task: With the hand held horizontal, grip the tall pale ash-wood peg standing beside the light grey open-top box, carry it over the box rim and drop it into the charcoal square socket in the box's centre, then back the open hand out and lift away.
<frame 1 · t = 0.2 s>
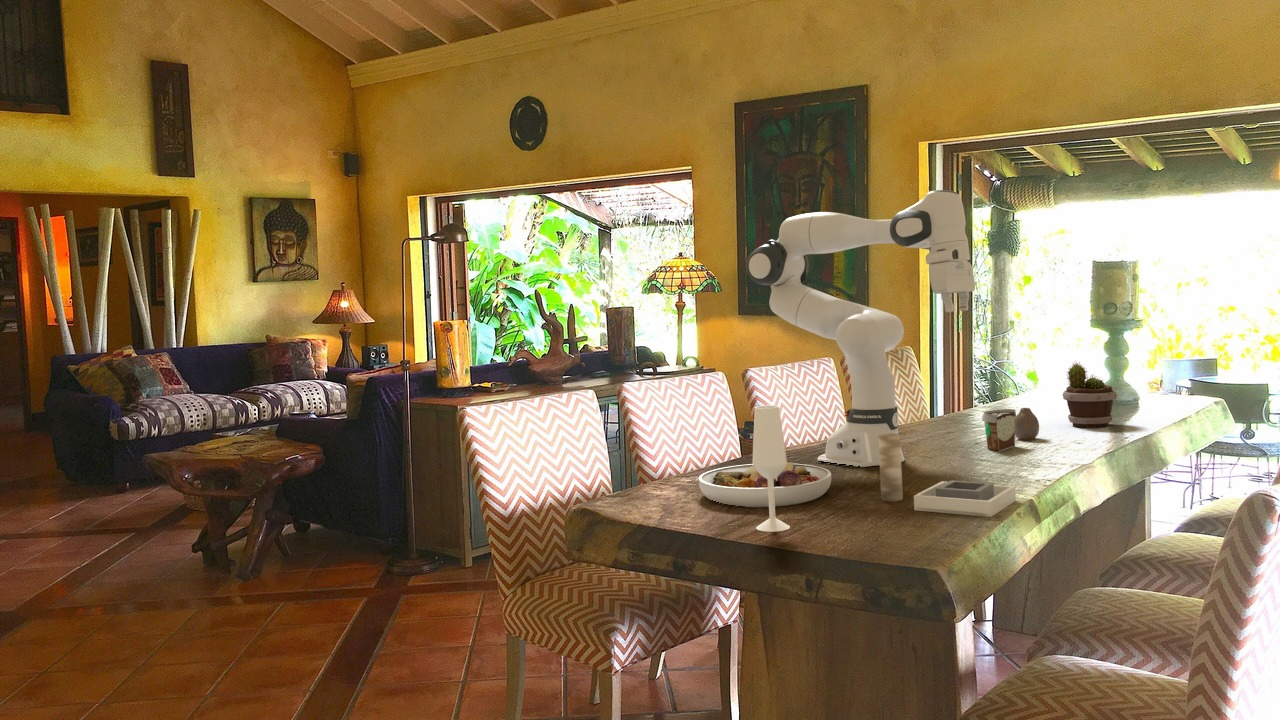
hand: (957, 311, 244), 38 cm above the table, tool pointing down, fingers open, 8 cm apart
champagne flute: (773, 528, 196), on the table
food container: (996, 449, 269), on the table
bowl: (765, 497, 227), on the table
vase: (1026, 439, 281), on the table
flowerpot: (1090, 426, 298), on the table
peg: (891, 499, 215), on the table
tray: (965, 505, 205), on the table
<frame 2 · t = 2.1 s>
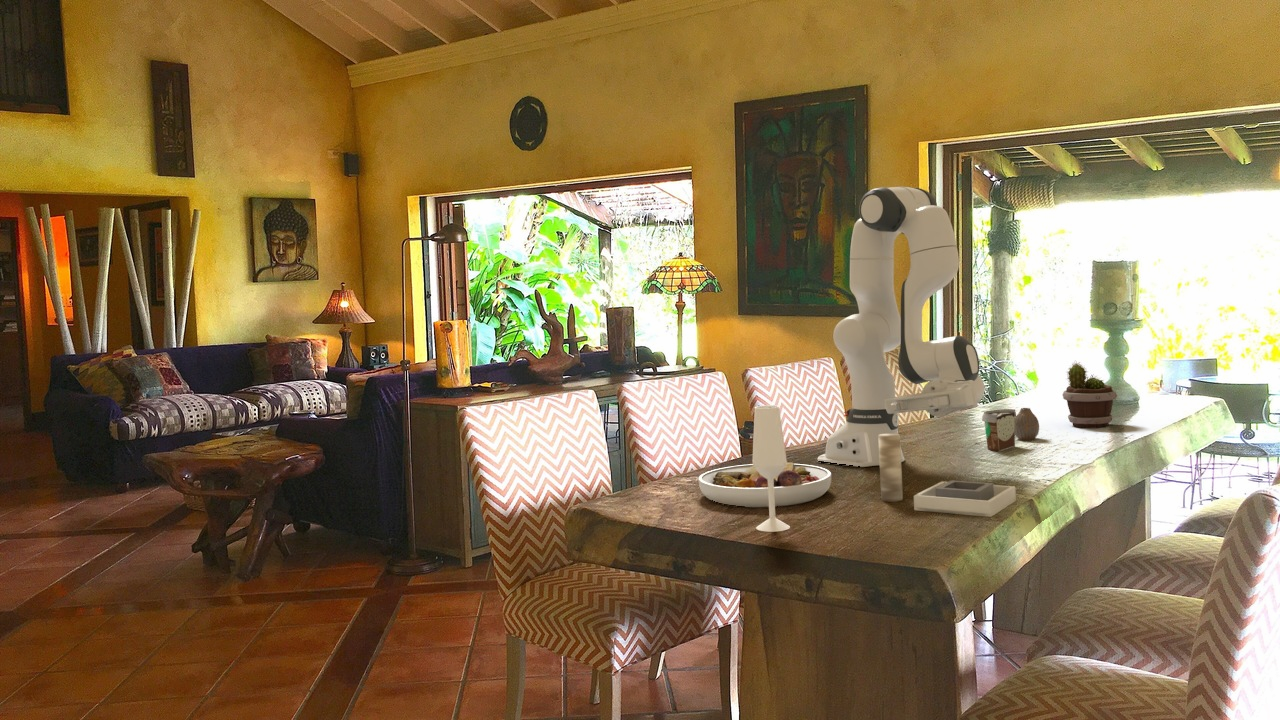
hand: (912, 405, 223), 19 cm above the table, tool horizontal, fingers open, 8 cm apart
nothing on the table moved.
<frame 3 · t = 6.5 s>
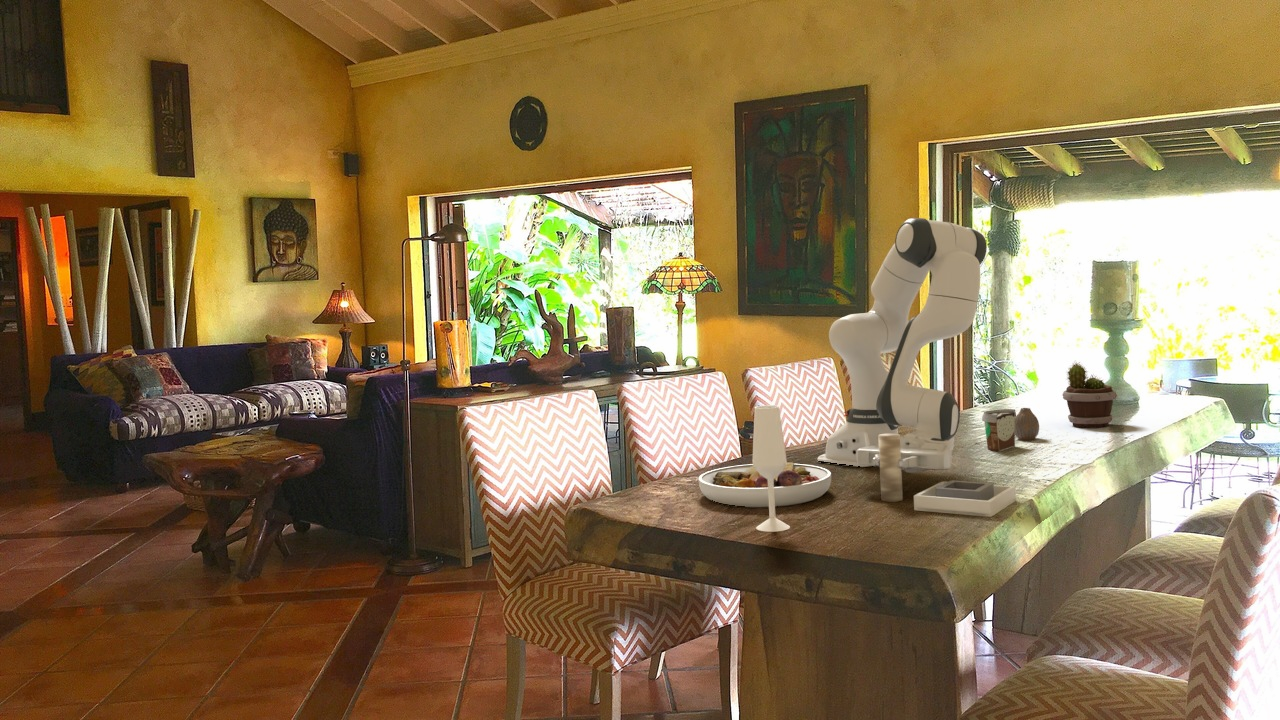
hand: (888, 463, 214), 8 cm above the table, tool horizontal, fingers closed on peg, 4 cm apart
peg: (891, 499, 215), on the table, touching gripper
everything else where it was.
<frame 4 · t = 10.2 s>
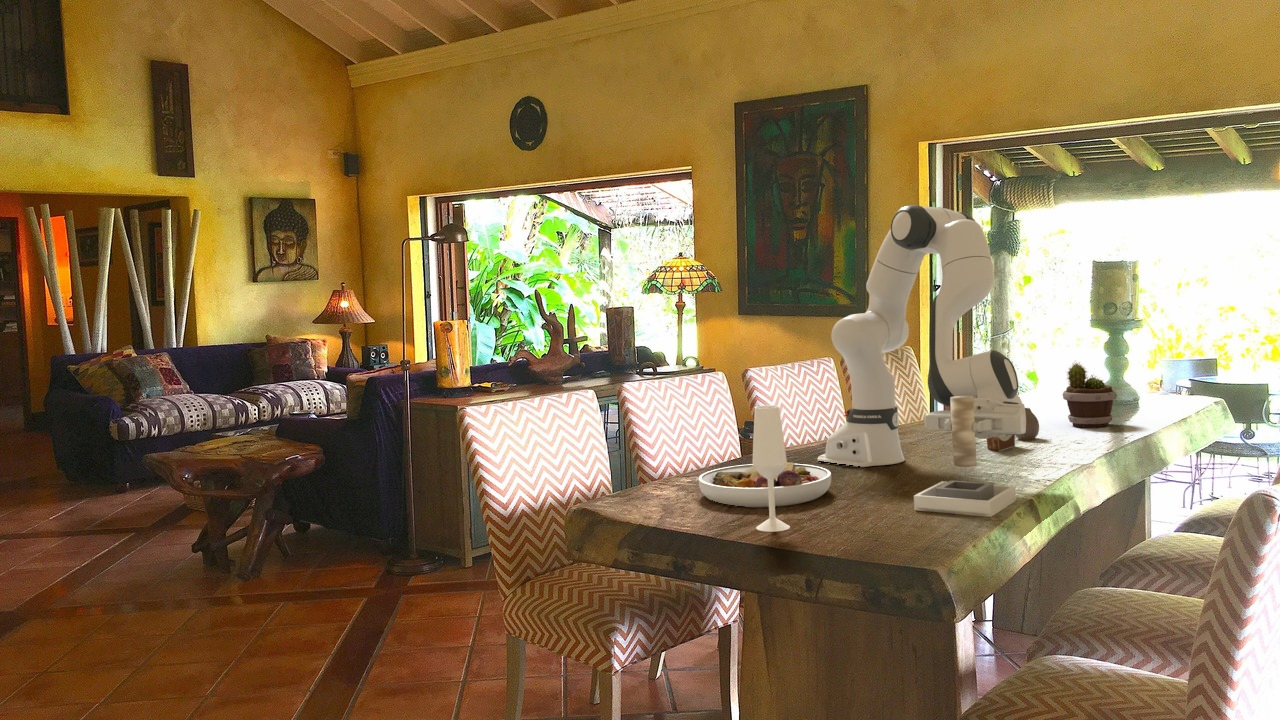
hand: (961, 426, 203), 16 cm above the table, tool horizontal, fingers closed on peg, 4 cm apart
peg: (965, 464, 204), point 8 cm above the table, touching gripper
everything else where it was.
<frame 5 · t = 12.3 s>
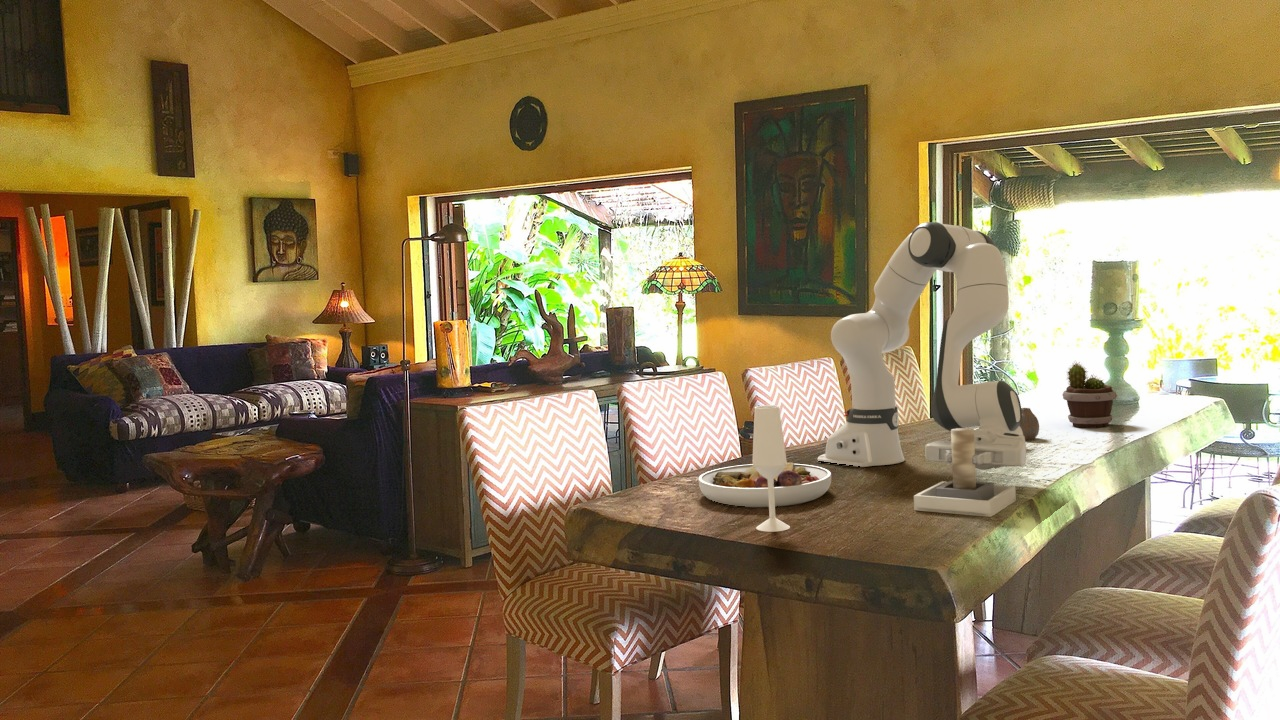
hand: (962, 459, 204), 10 cm above the table, tool horizontal, fingers closed on peg, 4 cm apart
peg: (965, 497, 205), point 2 cm above the table, touching gripper
everything else where it was.
when the fingers open (10 cm above the table, at t = 12.5 s): peg drops 1 cm, resting on tray.
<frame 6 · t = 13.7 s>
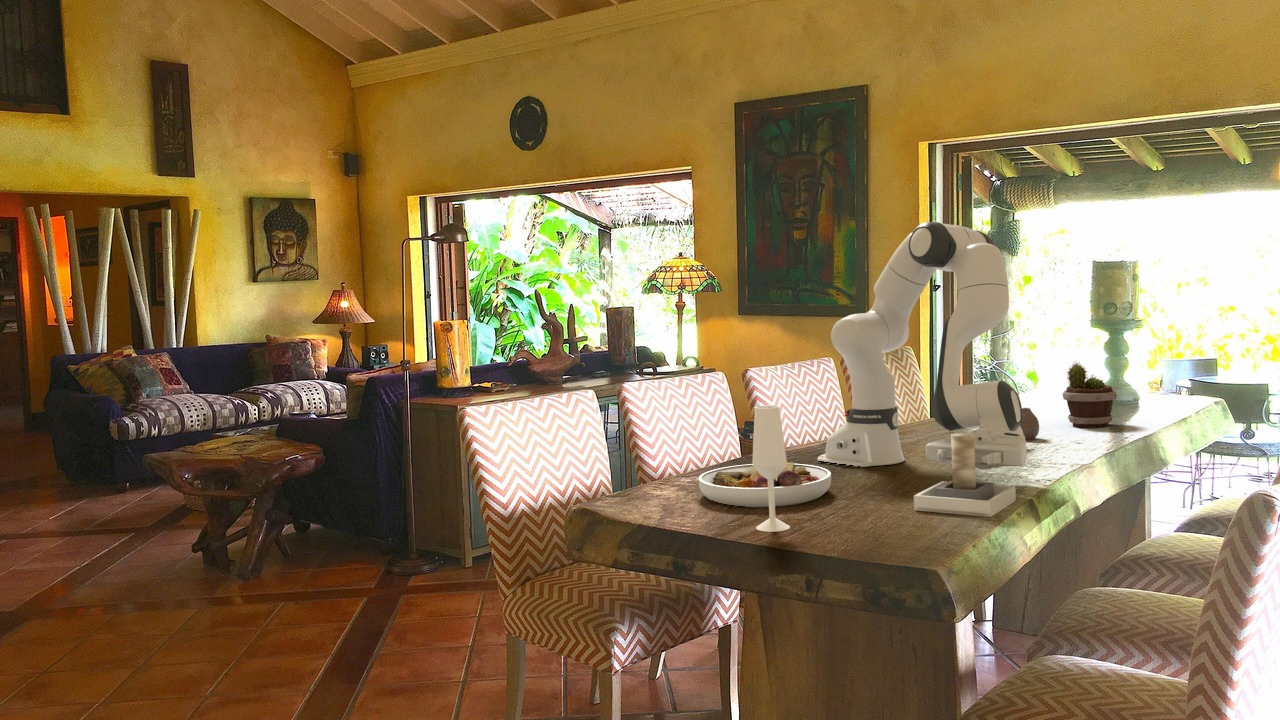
hand: (962, 458, 204), 10 cm above the table, tool horizontal, fingers open, 8 cm apart
peg: (965, 502, 205), point 1 cm above the table, touching tray
everything else where it was.
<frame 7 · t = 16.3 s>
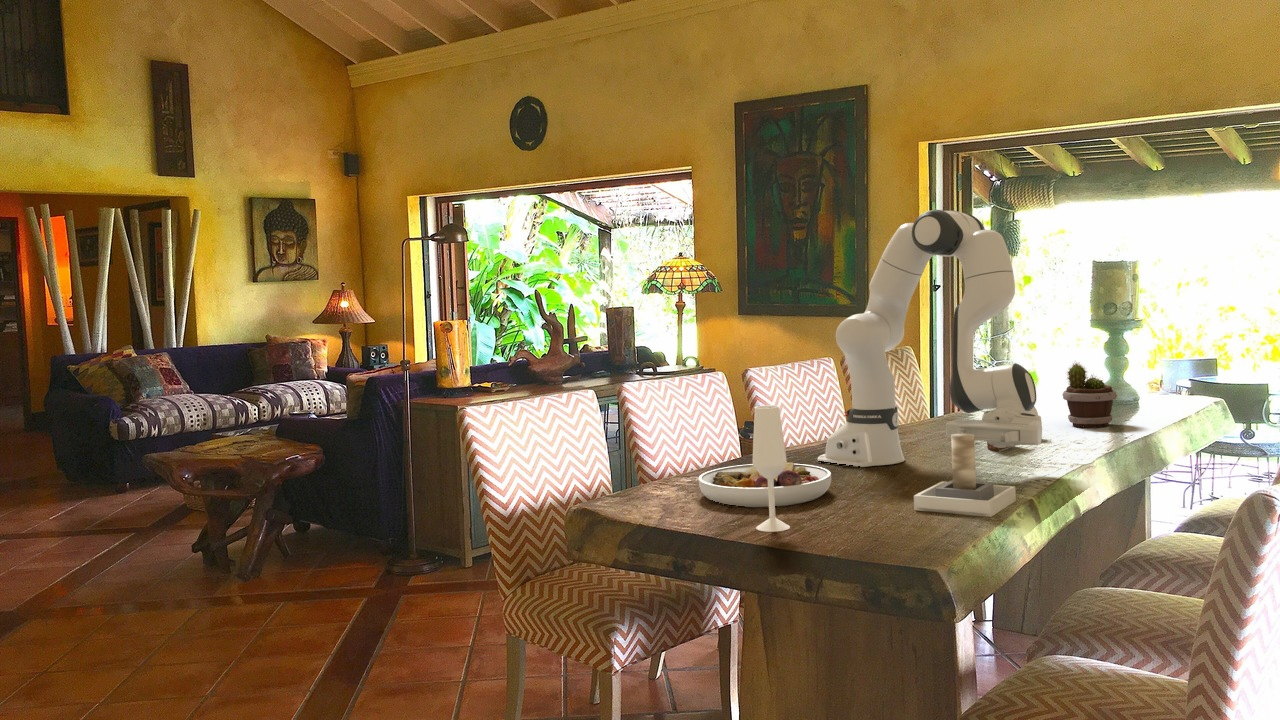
hand: (981, 436, 215), 12 cm above the table, tool horizontal, fingers open, 8 cm apart
nothing on the table moved.
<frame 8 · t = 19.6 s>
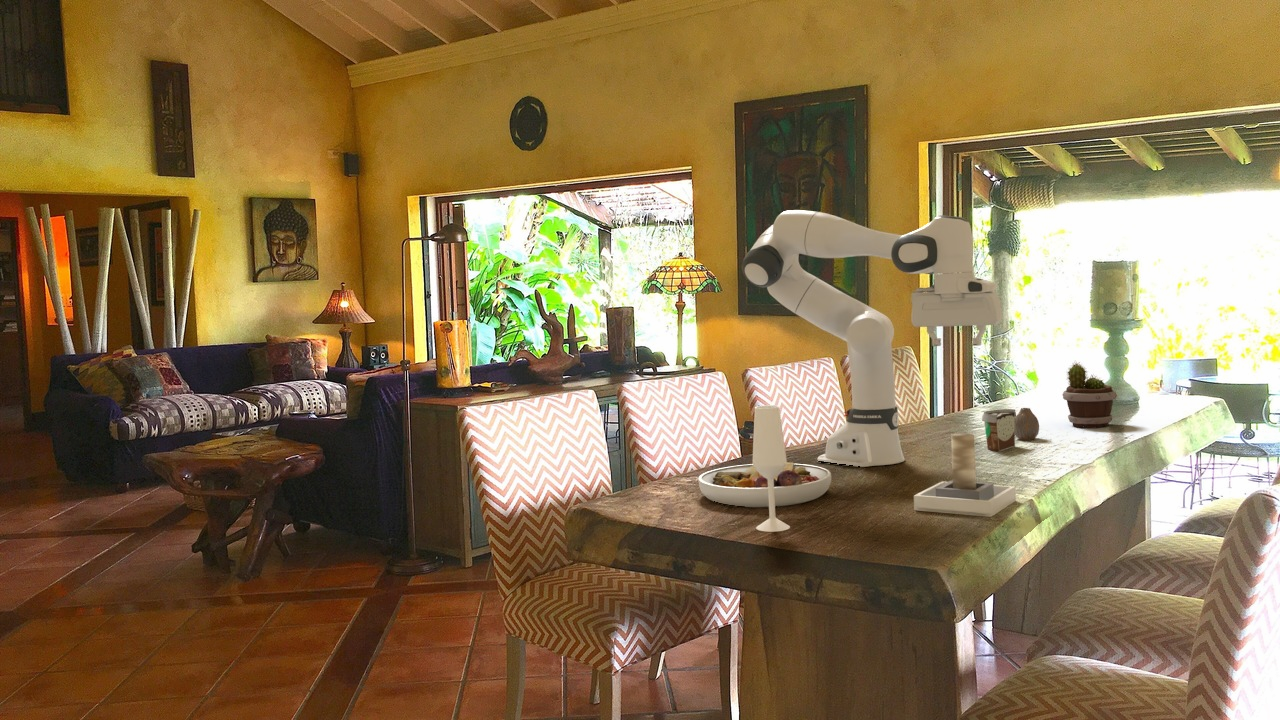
hand: (956, 345, 230), 31 cm above the table, tool pointing down, fingers open, 8 cm apart
nothing on the table moved.
at the end: peg 0.0 cm off-centre on the tray, point 0.6 cm above the tray's base; peg tilted 0°; the gripper is holding nothing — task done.
